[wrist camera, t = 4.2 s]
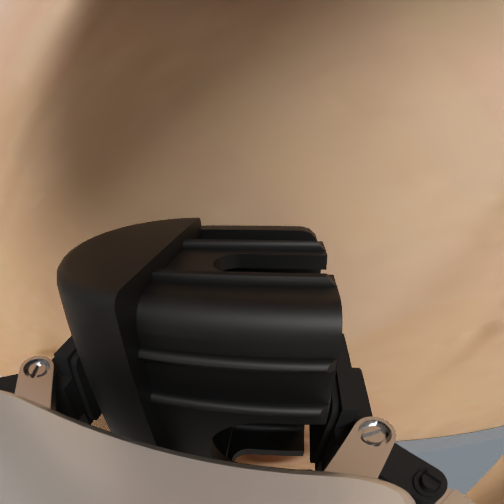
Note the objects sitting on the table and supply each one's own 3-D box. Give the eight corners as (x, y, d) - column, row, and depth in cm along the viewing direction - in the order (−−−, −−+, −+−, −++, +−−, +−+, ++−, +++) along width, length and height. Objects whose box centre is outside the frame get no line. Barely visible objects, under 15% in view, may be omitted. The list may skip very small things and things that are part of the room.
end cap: (130, 213, 12) (6, 284, 5) (317, 212, 11) (354, 307, 5) (165, 401, 15) (120, 504, 9) (302, 413, 14) (300, 532, 8)
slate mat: (516, 422, 14) (521, 431, 13) (434, 511, 19) (436, 519, 18) (345, 442, 15) (347, 456, 14) (298, 524, 20) (297, 533, 19)
